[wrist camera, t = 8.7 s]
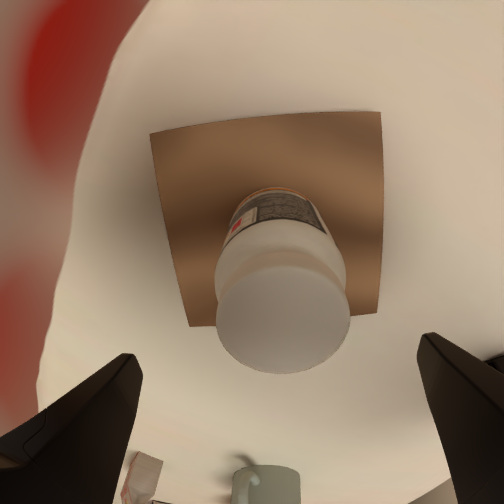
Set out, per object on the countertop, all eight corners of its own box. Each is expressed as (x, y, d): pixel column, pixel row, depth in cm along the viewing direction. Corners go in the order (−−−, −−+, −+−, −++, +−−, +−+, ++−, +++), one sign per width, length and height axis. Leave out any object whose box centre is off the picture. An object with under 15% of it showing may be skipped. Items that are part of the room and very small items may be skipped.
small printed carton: (163, 461, 35) (147, 519, 26) (152, 473, 37) (137, 524, 28) (138, 451, 34) (119, 509, 25) (130, 464, 37) (113, 515, 28)
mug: (305, 485, 36) (307, 541, 27) (246, 491, 37) (241, 544, 28) (283, 445, 31) (282, 519, 22) (210, 452, 32) (198, 520, 23)
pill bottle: (213, 236, 20) (169, 334, 11) (269, 165, 18) (269, 212, 9) (282, 286, 21) (288, 402, 12) (340, 223, 19) (395, 314, 10)
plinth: (372, 304, 23) (376, 312, 21) (192, 317, 24) (189, 326, 23) (374, 112, 17) (380, 111, 16) (156, 133, 19) (149, 134, 17)
